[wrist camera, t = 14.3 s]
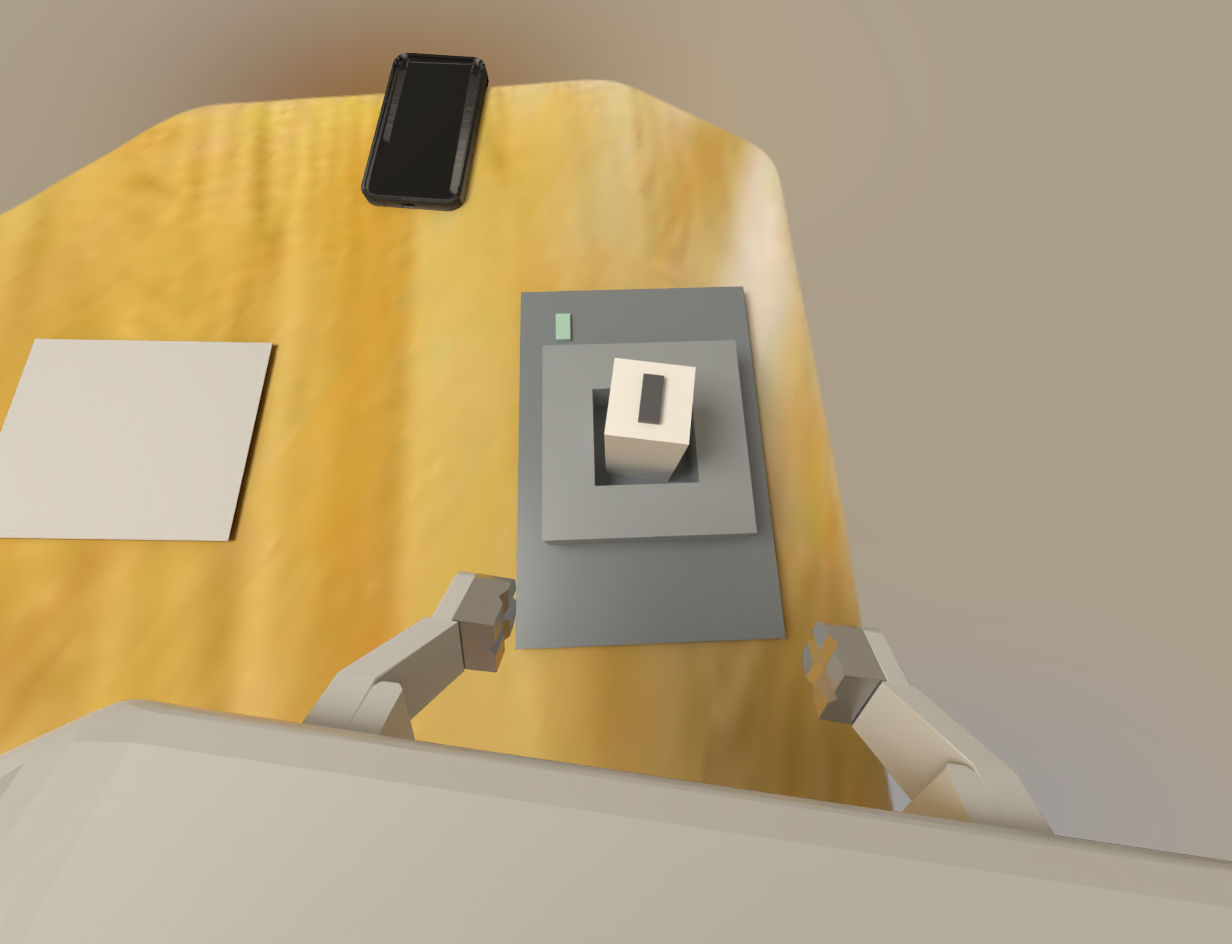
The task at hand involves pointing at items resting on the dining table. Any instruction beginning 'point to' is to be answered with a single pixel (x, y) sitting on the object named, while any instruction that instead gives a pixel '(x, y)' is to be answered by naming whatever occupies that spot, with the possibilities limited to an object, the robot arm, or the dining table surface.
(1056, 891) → the robot arm
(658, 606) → the power dock
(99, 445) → the paper stack
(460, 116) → the phone
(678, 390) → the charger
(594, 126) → the dining table surface
